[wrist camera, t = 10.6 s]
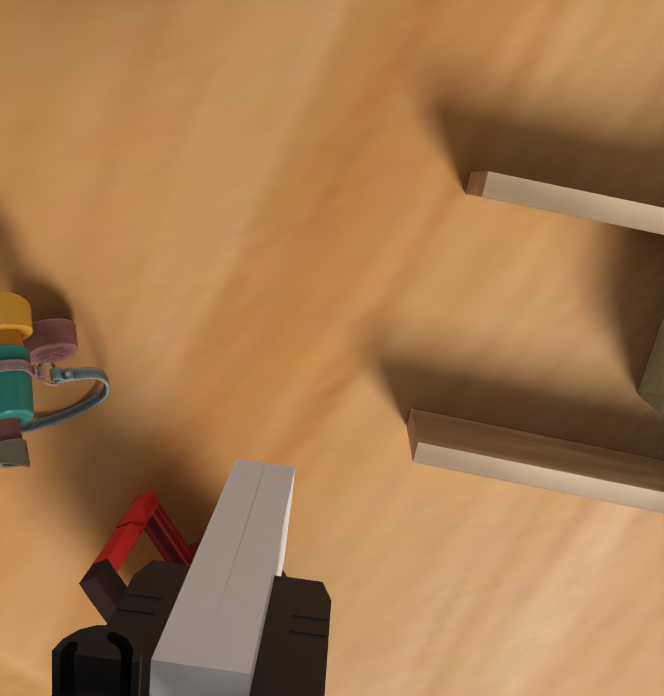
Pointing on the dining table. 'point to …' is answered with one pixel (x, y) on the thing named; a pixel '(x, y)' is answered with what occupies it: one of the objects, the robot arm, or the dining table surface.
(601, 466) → the bay
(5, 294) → the binoculars
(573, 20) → the dining table surface
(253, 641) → the robot arm
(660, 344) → the tissue box
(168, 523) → the mug
